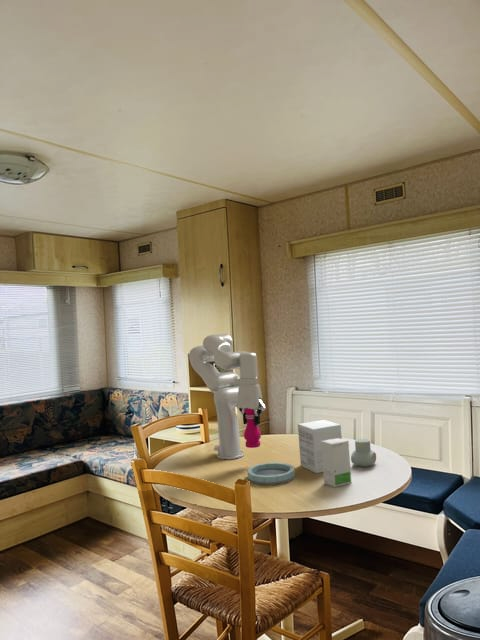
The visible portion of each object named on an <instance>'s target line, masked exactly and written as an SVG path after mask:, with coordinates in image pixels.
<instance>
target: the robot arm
mask: <svg viewBox="0 0 480 640" xmlns="http://www.w3.org/2000/svg"><path fill="white" fill-rule="evenodd" d="M233 346H234V340H233V338H232V337H231V335H229V334H226V333H218V334H210V335H207V336H206V337H205V338H204V339H203V340H202V345H198V346H195V347H193V348H191V349H190V350H189V353H188V358H189V359H188V360H189V362H190V364H191V365H190V366H191V368H192V369H193V370H194V371H195V373H197V375H198V376H199V377H200V378H201V379H202V380H203V382H204V384H205V385H206V387H207V389H209V391H211V393H212V394H213V402H214V406H215V410H216V415H217V416H216V418H217V430H218V443H219V445H215V446H214V447H213V451H216V452H217V454H216V457H217V459H219V460H224V459H225V460H226V459H227V460H236V459H237V460H238V459H239V458H243V456H244V455H245V453H244V452H245V451H243V450H241V441H240V428H239V417H238V414H237V413H236V412H235V410H234V408H237V410H239V412H240V414H241V416H242V422H243V425H247V418H246V416H245V415H246V413H245V412H244V409H245V408H248V409H254V412H255V416H254V422H255V425H257V426H259V425H260V424H261V415H262V414H263V413H264V411H265V410H266V409H267V407H266V405H265V404H264V403H263V393H262V390H261V385H260V384H259V377H258V376H259V375H258V374H259V373H258V357H257V354H256V353H255V352H249V351H246V350H241V351H239V350H238V351H232V349H233ZM211 362H212V363H213V362H214V363H215V365H216V366H217V367H219V368H220V369H222V370H224V371H229V372H220V371H219V370H218V369H217V367H215V365H213V364H211ZM231 370H239V375H238V374H237V373H236V372H233V371H231ZM257 409H258V411H257Z"/></svg>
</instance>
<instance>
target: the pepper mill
mask: <svg viewBox="0 0 480 640" xmlns="http://www.w3.org/2000/svg"><path fill="white" fill-rule="evenodd" d="M257 411H258V409H257ZM244 412H245V413H246V415H245V416H246V418H247V424H246V426H245V430H244V432H243V433H244V434H243V438H244V440H245V447H246V448H247V449H248V448H250V449H255V448H259V447H260V446H261V441H260V440H261V438H262V434H261V433H262V432H261V430H260V428H259V427H258V426H259V425H255V422H254V416H255V412H254V409H248V408H245V409H244Z"/></svg>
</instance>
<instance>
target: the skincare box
mask: <svg viewBox="0 0 480 640" xmlns="http://www.w3.org/2000/svg"><path fill="white" fill-rule="evenodd" d="M321 444H322V458H323V472H322V473H323V483H324V484H325V485H327V486H330V487H332V488H337V487H342V486H344V485H349V484H352V471H351V470H352V469H351V455H350V446H349V445H350V444H349V440H347V439H344V438H342V439H339V438H337V439H329V440H325V441H321Z"/></svg>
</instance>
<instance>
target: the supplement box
mask: <svg viewBox="0 0 480 640" xmlns="http://www.w3.org/2000/svg"><path fill="white" fill-rule="evenodd" d="M297 429H298V432H297V434H298V445H299V446H298V447H299V460H300V461H299V462H300V466H301V467H303V468H305V469H307V470H309V471H311V472H313V473H315V474H319V473H323V458H322V444H321V441H325V440H329V439H337V438H339V439H343V438H342V425H341V424H339V423H336V422H333V421H330V420H326V419H320V420H313V421H309V422H301V423H297Z"/></svg>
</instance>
